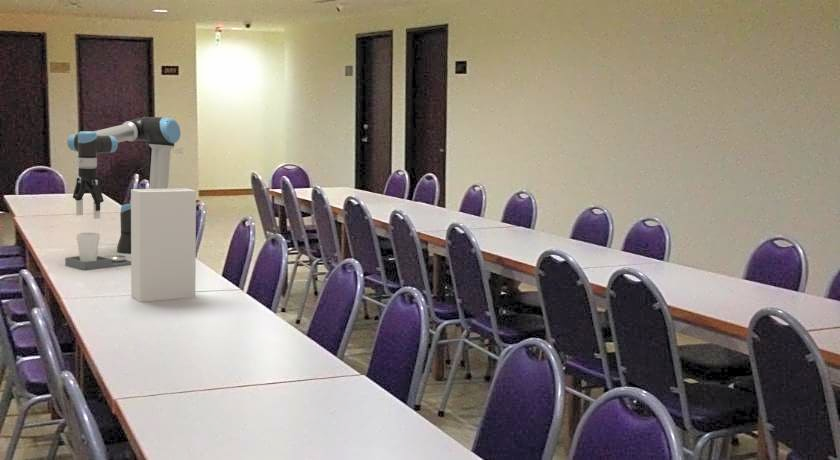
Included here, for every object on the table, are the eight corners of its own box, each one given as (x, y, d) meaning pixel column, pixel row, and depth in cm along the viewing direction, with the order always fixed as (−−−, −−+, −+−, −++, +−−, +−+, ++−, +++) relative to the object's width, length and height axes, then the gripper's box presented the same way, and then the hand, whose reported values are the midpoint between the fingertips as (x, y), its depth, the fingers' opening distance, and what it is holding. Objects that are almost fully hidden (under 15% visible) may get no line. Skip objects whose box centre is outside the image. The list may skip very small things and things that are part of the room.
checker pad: (118, 258, 430) (118, 253, 430) (129, 260, 424) (129, 256, 424) (100, 260, 423) (100, 255, 423) (111, 262, 417) (111, 258, 417)
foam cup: (92, 266, 408) (91, 235, 407) (72, 264, 410) (72, 234, 408) (103, 262, 417) (103, 233, 416) (84, 261, 419) (84, 231, 418)
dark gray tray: (116, 259, 433) (116, 252, 432) (135, 264, 423) (135, 256, 423) (65, 265, 414) (65, 257, 413) (84, 270, 404) (83, 262, 404)
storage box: (140, 302, 345) (139, 191, 340) (131, 296, 354) (130, 189, 349) (195, 297, 357) (196, 190, 352) (185, 292, 366) (186, 188, 361)
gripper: (64, 165, 414) (64, 214, 416) (95, 169, 398) (96, 220, 400) (79, 165, 419) (80, 213, 422) (111, 169, 403) (112, 219, 406)
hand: (88, 216), depth 411 cm, fingers open, 13 cm apart
